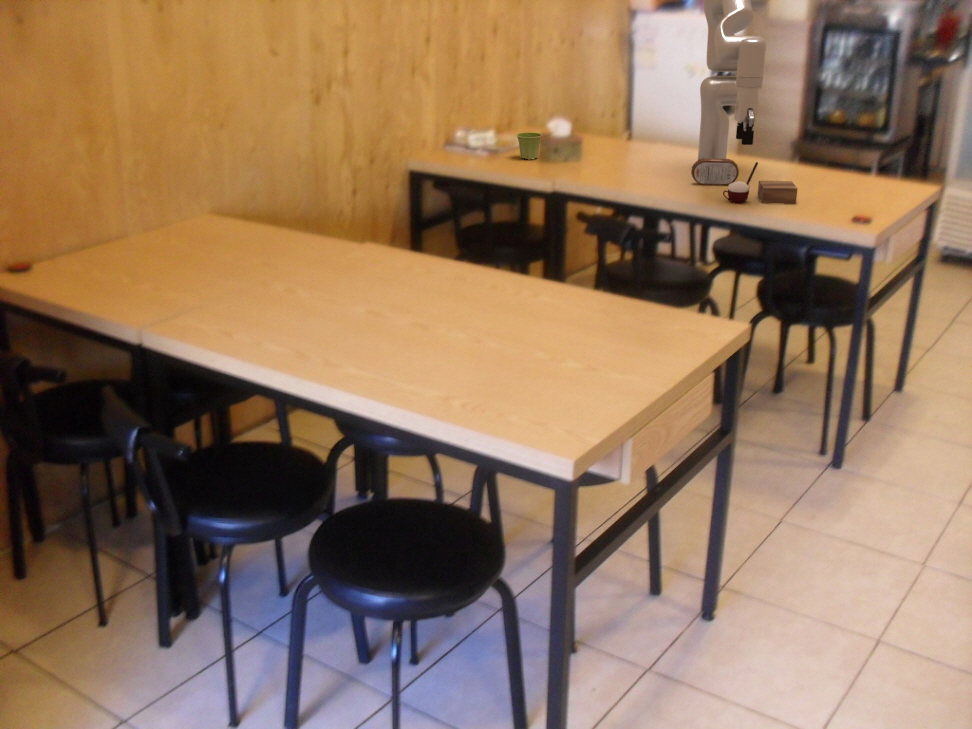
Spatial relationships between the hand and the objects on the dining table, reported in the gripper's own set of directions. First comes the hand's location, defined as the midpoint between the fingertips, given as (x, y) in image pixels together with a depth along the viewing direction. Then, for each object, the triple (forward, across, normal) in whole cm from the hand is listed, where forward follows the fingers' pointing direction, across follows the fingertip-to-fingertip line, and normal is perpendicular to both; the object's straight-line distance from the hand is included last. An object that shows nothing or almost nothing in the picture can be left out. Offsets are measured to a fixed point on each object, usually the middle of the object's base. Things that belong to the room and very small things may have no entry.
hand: (744, 141), depth 308 cm
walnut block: (+18, -4, +12) cm, 22 cm away
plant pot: (+18, -64, -65) cm, 93 cm away
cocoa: (+18, -1, 0) cm, 19 cm away
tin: (+18, -24, -4) cm, 30 cm away
